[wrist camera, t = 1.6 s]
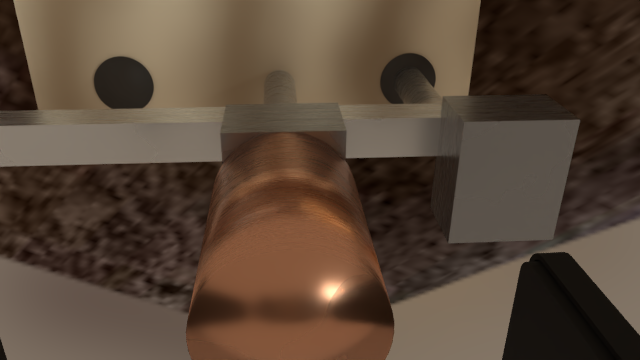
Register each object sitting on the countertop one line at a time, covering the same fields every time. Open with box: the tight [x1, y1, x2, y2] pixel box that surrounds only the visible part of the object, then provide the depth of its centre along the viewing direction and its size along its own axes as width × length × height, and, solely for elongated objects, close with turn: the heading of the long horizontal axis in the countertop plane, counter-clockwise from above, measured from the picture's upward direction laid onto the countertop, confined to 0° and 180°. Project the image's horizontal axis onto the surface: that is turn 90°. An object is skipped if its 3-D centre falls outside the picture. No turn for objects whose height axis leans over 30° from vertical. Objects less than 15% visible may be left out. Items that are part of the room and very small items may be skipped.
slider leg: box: [186, 70, 394, 360], centre depth 18 cm, size 4×4×18 cm
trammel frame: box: [0, 67, 580, 243], centre depth 20 cm, size 18×4×12 cm, turn 90°
